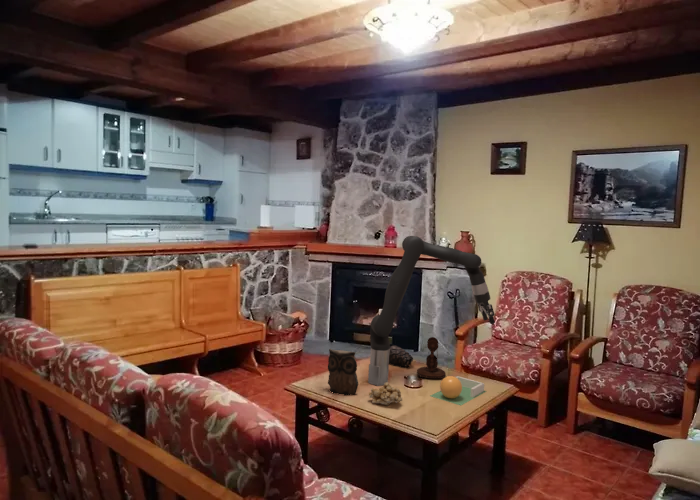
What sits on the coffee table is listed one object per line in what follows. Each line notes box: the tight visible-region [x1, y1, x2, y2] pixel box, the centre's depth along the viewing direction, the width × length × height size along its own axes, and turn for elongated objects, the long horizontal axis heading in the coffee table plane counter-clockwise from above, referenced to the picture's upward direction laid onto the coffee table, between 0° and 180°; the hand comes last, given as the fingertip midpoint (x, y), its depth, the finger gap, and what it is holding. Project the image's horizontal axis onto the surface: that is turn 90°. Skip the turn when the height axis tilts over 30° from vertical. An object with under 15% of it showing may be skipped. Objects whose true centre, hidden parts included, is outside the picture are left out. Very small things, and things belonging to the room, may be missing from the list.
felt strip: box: [429, 386, 487, 407], centre depth 243 cm, size 26×16×1 cm, turn 140°
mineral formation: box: [368, 381, 403, 406], centre depth 228 cm, size 8×13×15 cm
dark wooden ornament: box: [416, 336, 446, 381], centre depth 267 cm, size 15×15×20 cm
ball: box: [439, 375, 462, 399], centre depth 237 cm, size 10×10×10 cm
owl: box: [327, 348, 359, 396], centre depth 239 cm, size 13×13×20 cm
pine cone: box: [389, 345, 414, 370], centre depth 286 cm, size 10×18×10 cm, turn 52°
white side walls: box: [455, 375, 485, 398], centre depth 248 cm, size 12×14×4 cm
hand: (489, 321), depth 261 cm, fingers open, 8 cm apart
